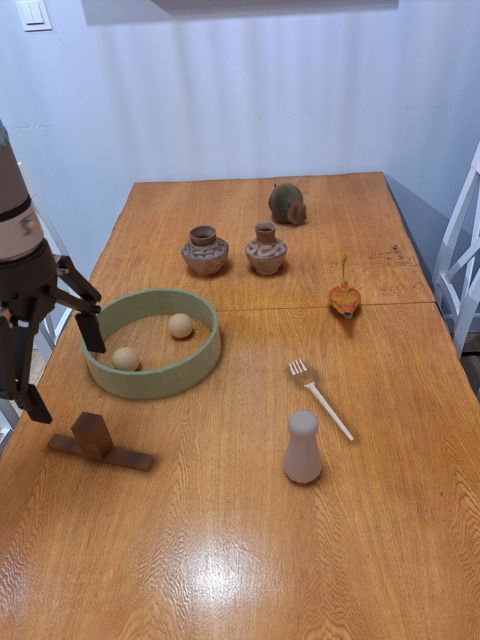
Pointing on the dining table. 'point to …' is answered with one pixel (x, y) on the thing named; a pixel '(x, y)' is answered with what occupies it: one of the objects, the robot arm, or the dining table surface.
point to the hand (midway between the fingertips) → (71, 383)
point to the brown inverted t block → (98, 444)
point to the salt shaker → (302, 447)
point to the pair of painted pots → (212, 251)
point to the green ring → (163, 378)
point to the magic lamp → (344, 295)
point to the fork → (321, 399)
